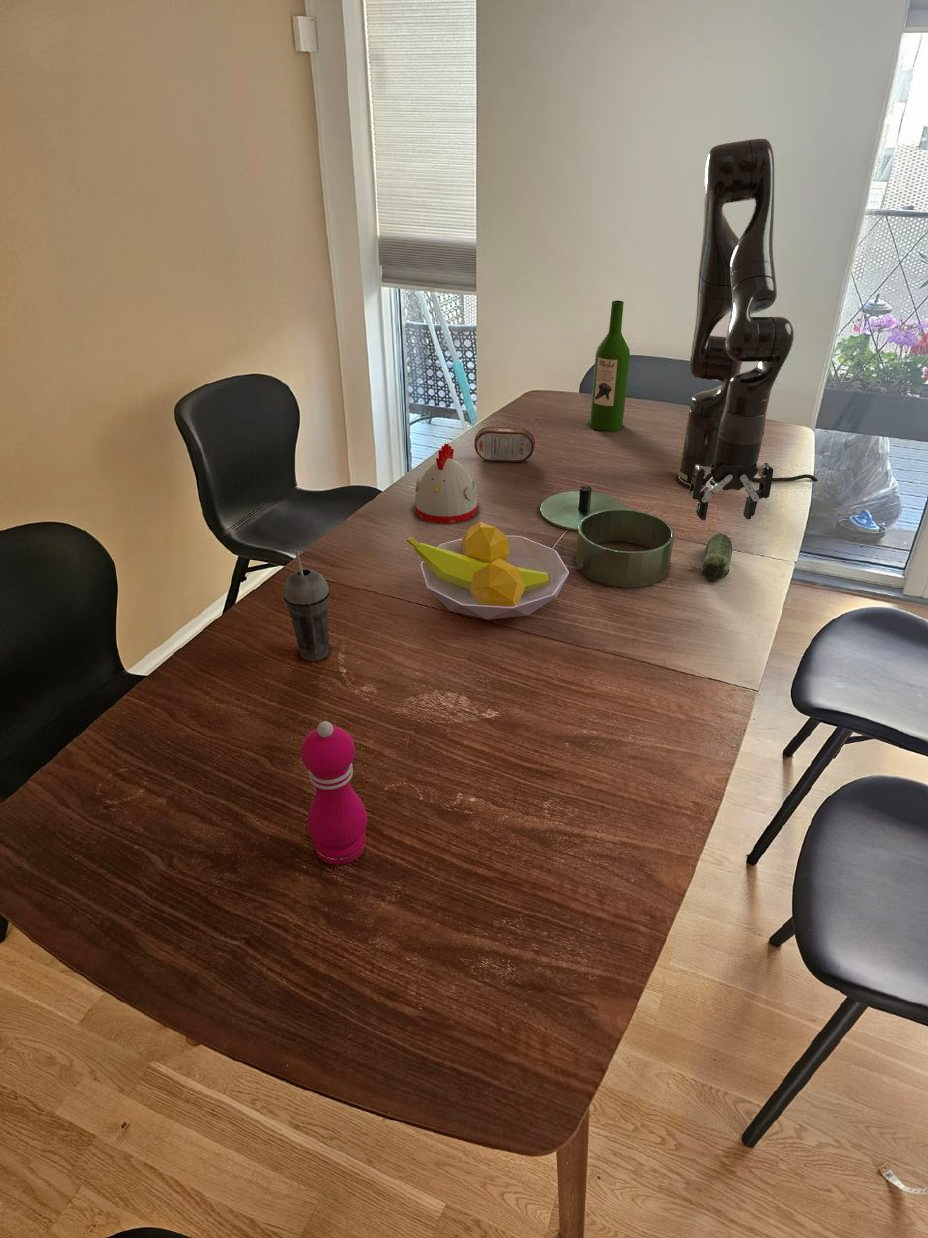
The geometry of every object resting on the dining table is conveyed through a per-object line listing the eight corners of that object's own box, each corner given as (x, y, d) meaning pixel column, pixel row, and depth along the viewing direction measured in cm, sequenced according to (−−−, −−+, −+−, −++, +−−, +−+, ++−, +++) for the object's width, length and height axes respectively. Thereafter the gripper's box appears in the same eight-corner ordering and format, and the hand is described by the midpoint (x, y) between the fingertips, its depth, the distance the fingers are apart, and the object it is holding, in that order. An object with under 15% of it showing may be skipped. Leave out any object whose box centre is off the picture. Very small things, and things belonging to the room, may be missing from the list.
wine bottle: (585, 428, 219) (596, 303, 201) (594, 418, 226) (604, 296, 208) (618, 433, 216) (631, 306, 198) (625, 422, 223) (639, 299, 205)
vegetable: (726, 586, 150) (731, 563, 148) (698, 582, 152) (702, 558, 149) (731, 552, 161) (736, 530, 159) (705, 548, 163) (709, 526, 160)
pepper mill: (313, 825, 103) (294, 704, 91) (370, 821, 103) (358, 700, 92) (309, 871, 97) (288, 747, 85) (369, 866, 97) (356, 743, 86)
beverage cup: (344, 644, 136) (332, 539, 124) (324, 669, 130) (310, 561, 119) (305, 636, 138) (290, 532, 126) (284, 660, 132) (266, 554, 121)
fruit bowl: (583, 576, 154) (587, 523, 148) (532, 651, 134) (535, 594, 127) (451, 547, 164) (450, 496, 158) (385, 613, 143) (382, 558, 137)
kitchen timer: (405, 517, 175) (401, 452, 167) (429, 492, 186) (427, 429, 177) (465, 527, 171) (464, 461, 163) (485, 501, 182) (486, 437, 173)
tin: (534, 459, 202) (535, 426, 197) (533, 463, 199) (535, 431, 195) (474, 457, 203) (474, 424, 199) (473, 461, 201) (473, 429, 196)
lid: (617, 494, 184) (620, 469, 181) (635, 533, 168) (639, 506, 165) (535, 496, 184) (536, 471, 180) (545, 535, 168) (547, 508, 164)
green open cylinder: (656, 541, 166) (661, 508, 161) (679, 586, 151) (685, 551, 146) (569, 543, 165) (572, 510, 161) (583, 588, 150) (586, 553, 146)
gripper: (772, 426, 145) (754, 508, 154) (694, 428, 145) (681, 509, 154) (788, 442, 139) (768, 526, 148) (706, 443, 138) (692, 527, 147)
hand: (724, 517), depth 151 cm, fingers open, 8 cm apart
